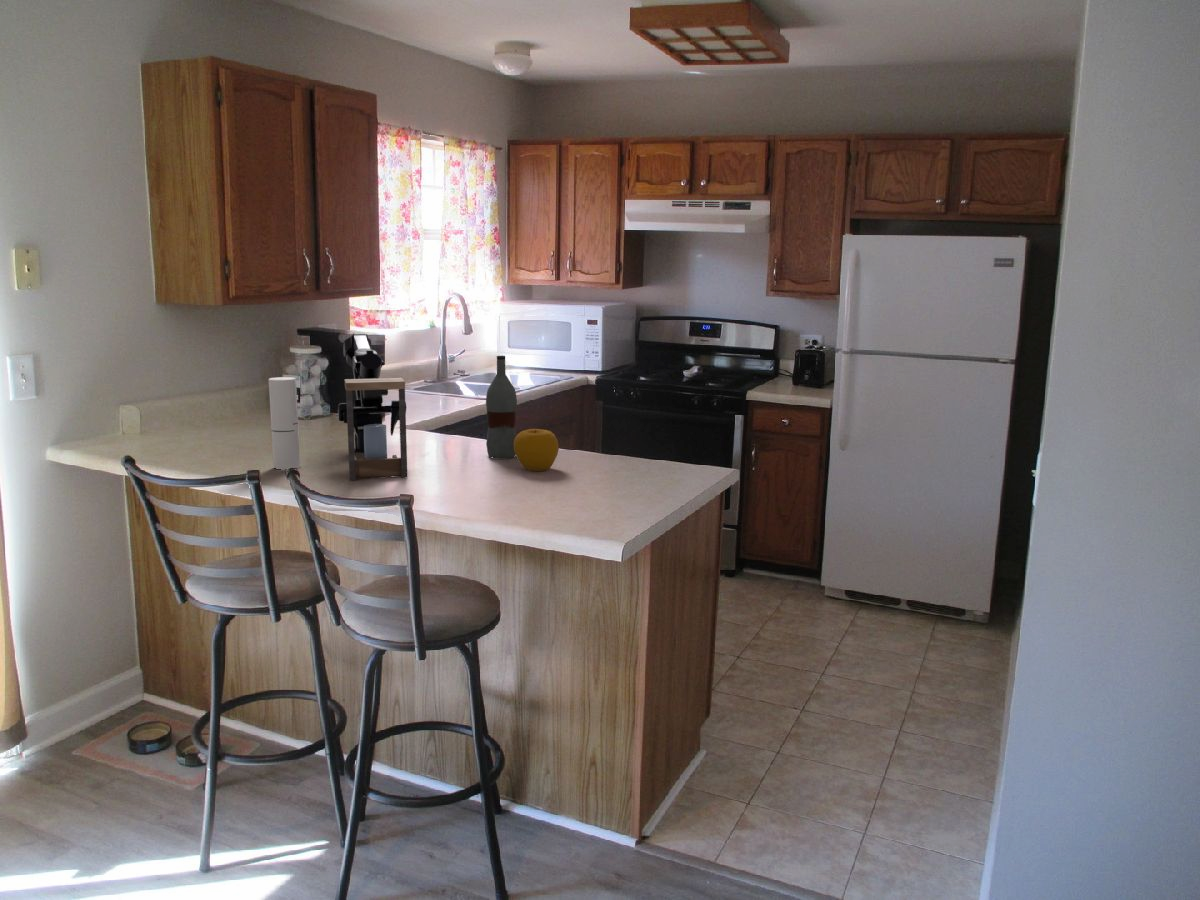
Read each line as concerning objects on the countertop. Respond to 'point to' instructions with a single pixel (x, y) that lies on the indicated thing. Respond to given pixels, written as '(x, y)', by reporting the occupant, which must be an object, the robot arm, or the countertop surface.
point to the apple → (536, 449)
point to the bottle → (501, 414)
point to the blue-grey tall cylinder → (375, 441)
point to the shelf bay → (356, 467)
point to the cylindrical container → (284, 422)
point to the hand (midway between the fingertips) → (375, 435)
